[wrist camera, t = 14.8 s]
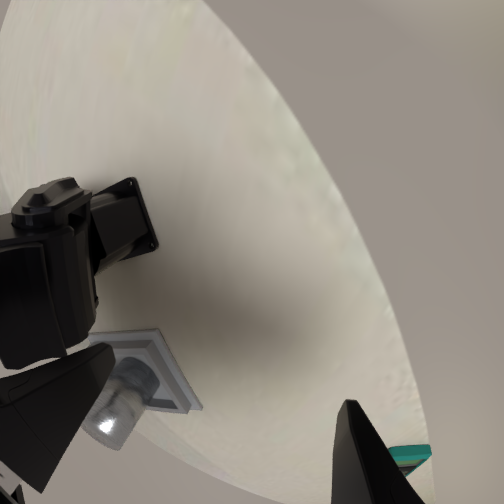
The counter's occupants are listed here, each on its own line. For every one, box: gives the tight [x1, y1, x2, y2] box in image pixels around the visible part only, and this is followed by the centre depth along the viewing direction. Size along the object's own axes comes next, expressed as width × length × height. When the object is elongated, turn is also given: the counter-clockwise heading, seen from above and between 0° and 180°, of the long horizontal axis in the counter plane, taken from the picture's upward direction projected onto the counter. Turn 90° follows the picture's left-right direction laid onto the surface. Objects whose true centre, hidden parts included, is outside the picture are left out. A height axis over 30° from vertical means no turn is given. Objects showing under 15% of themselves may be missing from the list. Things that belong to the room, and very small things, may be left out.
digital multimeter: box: [388, 445, 432, 477], centre depth 28 cm, size 7×15×3 cm, turn 173°
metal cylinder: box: [81, 357, 160, 450], centre depth 24 cm, size 6×6×10 cm
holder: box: [87, 329, 203, 414], centre depth 28 cm, size 12×12×2 cm
